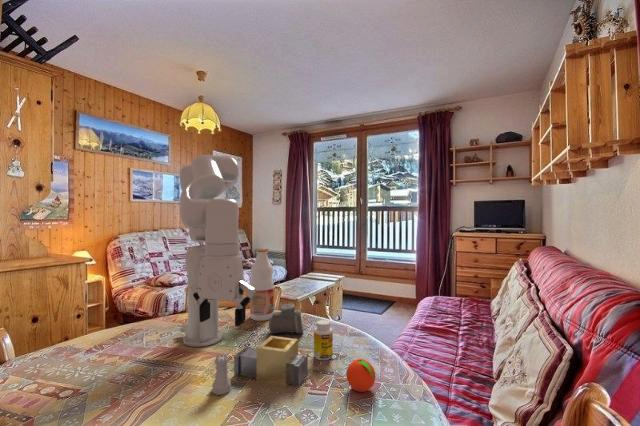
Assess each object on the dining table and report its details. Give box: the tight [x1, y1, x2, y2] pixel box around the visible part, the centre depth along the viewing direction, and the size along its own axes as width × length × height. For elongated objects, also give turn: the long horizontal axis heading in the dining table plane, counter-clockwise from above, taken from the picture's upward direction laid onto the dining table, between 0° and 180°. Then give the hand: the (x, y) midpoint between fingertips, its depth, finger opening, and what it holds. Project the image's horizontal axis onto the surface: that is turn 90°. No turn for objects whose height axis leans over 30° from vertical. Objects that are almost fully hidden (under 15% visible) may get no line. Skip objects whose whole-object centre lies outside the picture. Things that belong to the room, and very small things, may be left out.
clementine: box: [346, 358, 376, 393], centre depth 74 cm, size 8×7×7 cm
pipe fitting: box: [268, 302, 304, 335], centre depth 110 cm, size 12×8×10 cm
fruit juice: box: [249, 247, 275, 322], centre depth 127 cm, size 9×9×28 cm
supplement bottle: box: [313, 319, 334, 361], centre depth 92 cm, size 6×6×10 cm
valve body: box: [233, 335, 309, 388], centre depth 81 cm, size 18×8×8 cm, turn 72°
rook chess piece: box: [211, 354, 232, 396], centre depth 74 cm, size 4×4×8 cm
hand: (222, 322), depth 74 cm, fingers open, 9 cm apart
